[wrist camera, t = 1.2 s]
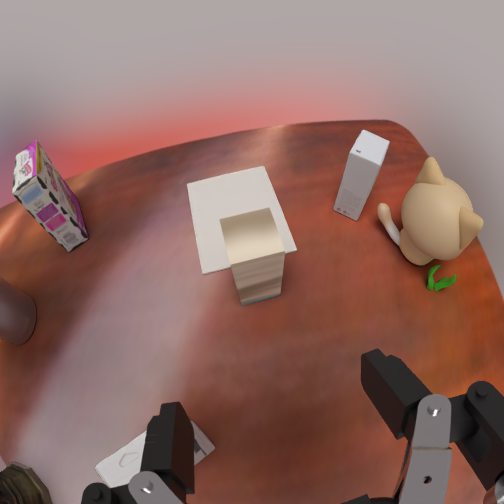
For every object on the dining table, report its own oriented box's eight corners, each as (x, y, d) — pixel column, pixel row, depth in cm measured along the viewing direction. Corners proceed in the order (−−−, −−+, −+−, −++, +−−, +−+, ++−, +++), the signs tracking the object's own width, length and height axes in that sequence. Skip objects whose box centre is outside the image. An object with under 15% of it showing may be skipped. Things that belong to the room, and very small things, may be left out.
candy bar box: (91, 238, 42) (36, 174, 28) (69, 254, 41) (10, 195, 26) (79, 198, 47) (36, 137, 32) (59, 212, 45) (14, 155, 31)
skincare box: (357, 222, 41) (380, 166, 30) (332, 210, 42) (348, 152, 31) (369, 196, 43) (390, 140, 32) (345, 184, 44) (361, 128, 34)
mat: (296, 251, 39) (296, 249, 39) (203, 274, 38) (202, 273, 38) (263, 167, 47) (263, 165, 46) (187, 185, 46) (187, 183, 45)
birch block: (280, 295, 36) (285, 250, 25) (241, 305, 36) (230, 264, 25) (269, 261, 38) (269, 207, 28) (232, 270, 38) (219, 219, 27)
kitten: (459, 279, 35) (517, 227, 22) (418, 308, 34) (481, 259, 21) (410, 204, 42) (446, 138, 29) (366, 222, 41) (398, 149, 27)
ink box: (166, 480, 25) (125, 510, 15) (141, 451, 27) (90, 467, 17) (217, 447, 27) (192, 471, 17) (189, 416, 29) (152, 425, 19)
